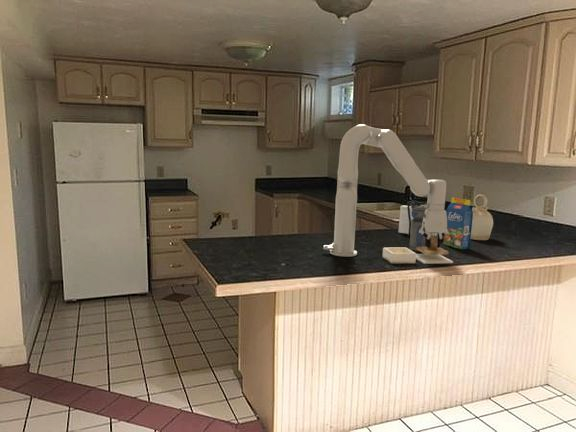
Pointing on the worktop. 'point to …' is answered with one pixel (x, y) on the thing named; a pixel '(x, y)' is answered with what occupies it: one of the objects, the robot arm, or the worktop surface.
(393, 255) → the dish
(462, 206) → the blue food package
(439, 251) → the lid
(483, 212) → the jug
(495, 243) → the worktop surface
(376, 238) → the worktop surface
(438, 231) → the robot arm
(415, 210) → the beverage bottle
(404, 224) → the skincare box
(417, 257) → the box
